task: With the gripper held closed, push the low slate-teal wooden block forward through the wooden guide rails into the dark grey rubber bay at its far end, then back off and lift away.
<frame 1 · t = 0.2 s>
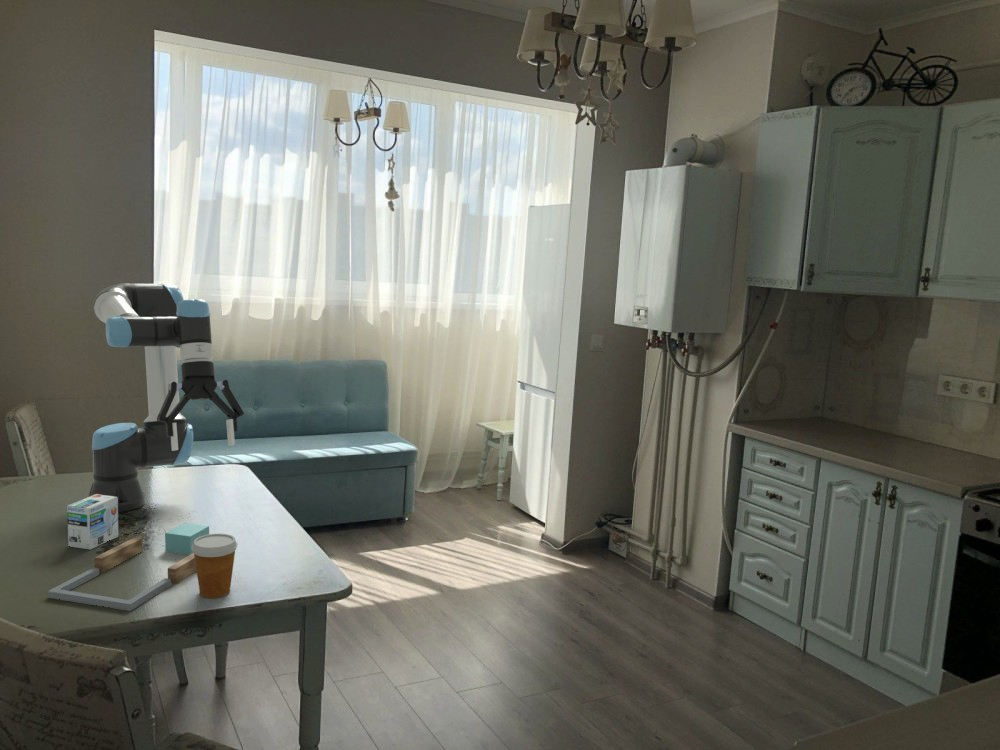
hand: (203, 448, 191), 27 cm above the table, tool tilted 15°, fingers open, 13 cm apart
light bulb box: (94, 542, 199), on the table
disposable coffee cup: (215, 593, 173), on the table
teal block: (187, 548, 198), on the table
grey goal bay: (113, 590, 172), on the table
wooden guide rails: (154, 566, 185), on the table
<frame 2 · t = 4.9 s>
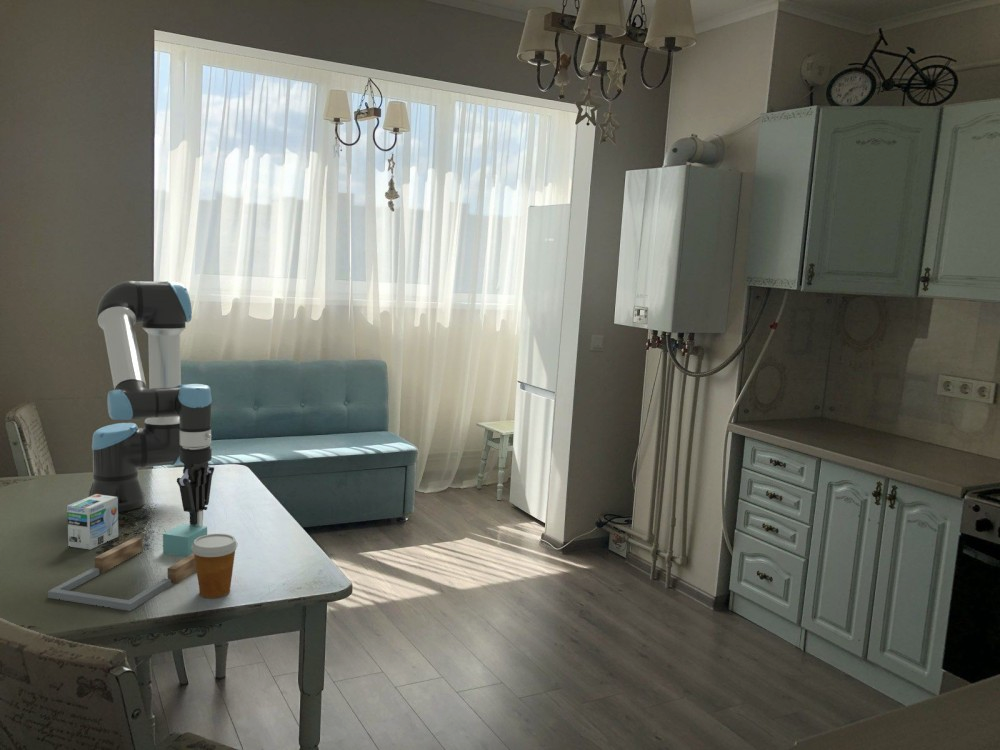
hand: (196, 535, 201), 2 cm above the table, tool pointing down, fingers closed
teal block: (185, 549, 197), on the table, touching gripper
everything else where it was.
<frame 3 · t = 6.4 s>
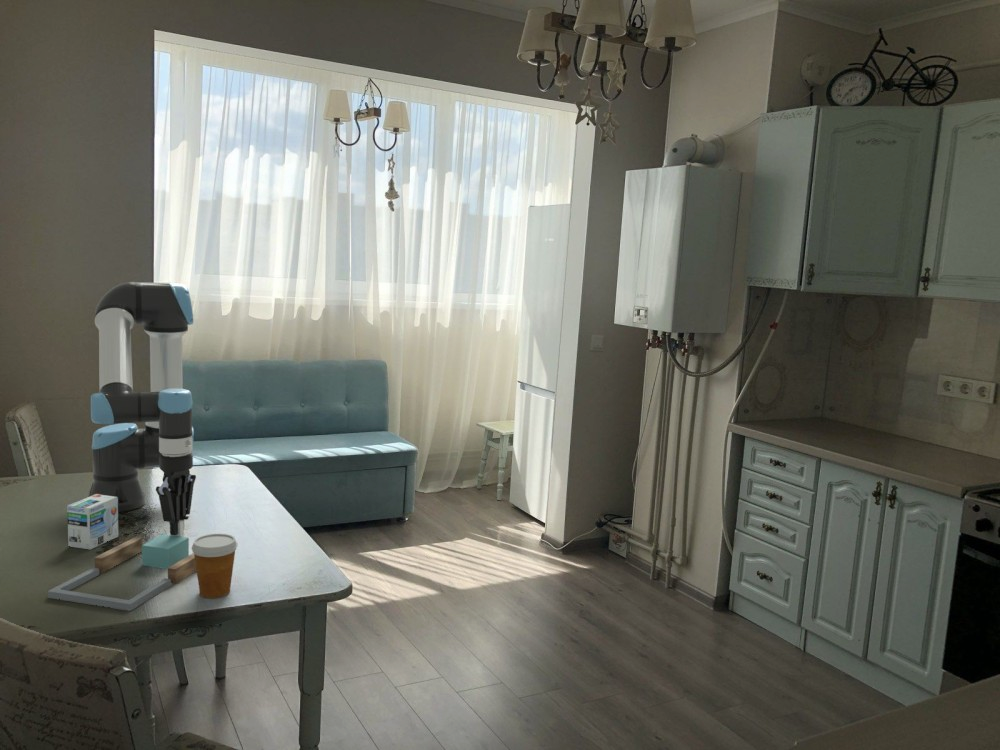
hand: (177, 545, 193), 2 cm above the table, tool pointing down, fingers closed
teal block: (165, 561, 189), on the table, touching gripper
everything else where it was.
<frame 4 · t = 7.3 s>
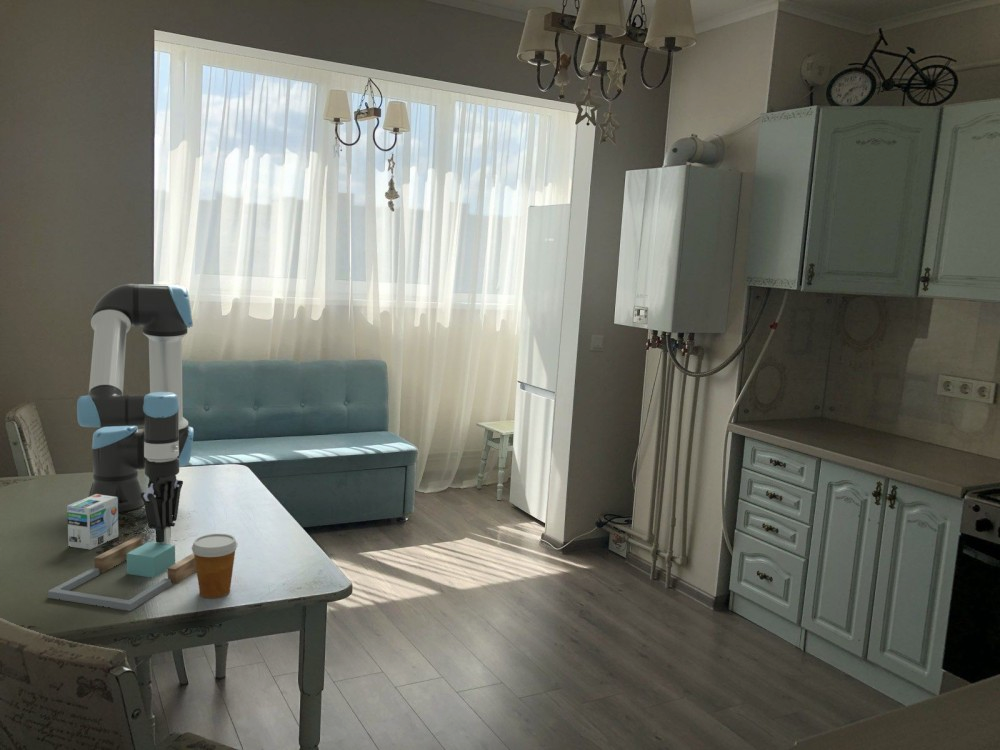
hand: (163, 553, 188), 2 cm above the table, tool pointing down, fingers closed
teal block: (151, 569, 184), on the table, touching gripper
everything else where it was.
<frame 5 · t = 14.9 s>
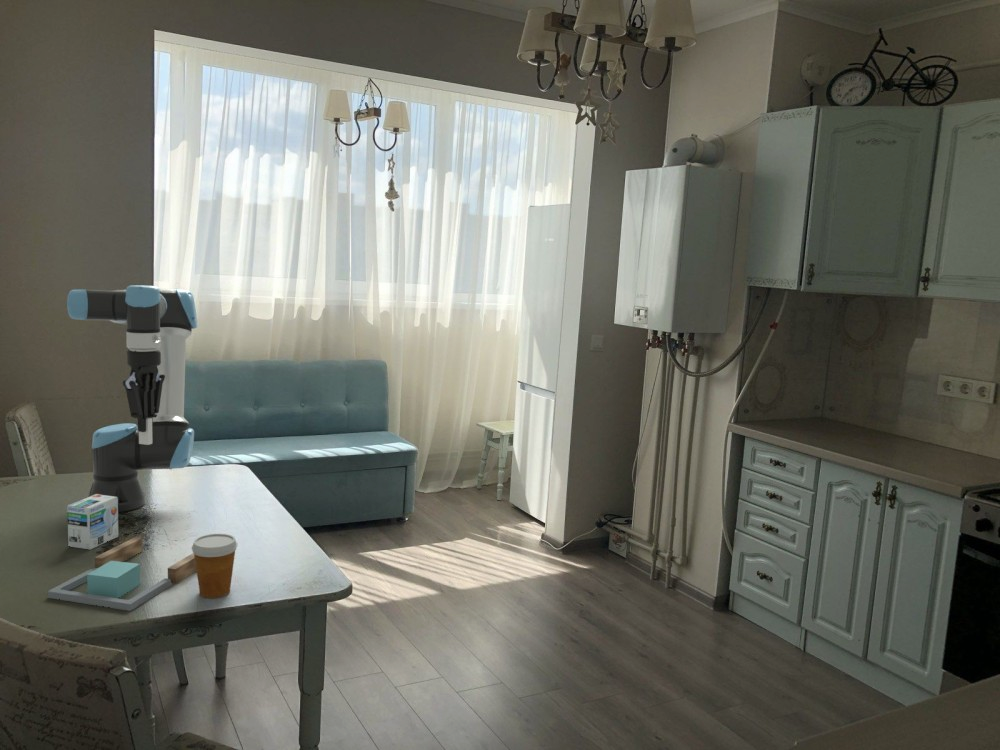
hand: (145, 443, 194), 26 cm above the table, tool pointing down, fingers closed
teal block: (114, 590, 172), on the table
everything else where it was.
at the end: teal block inside the target area (1.2 cm from its centre), on the table; teal block tilted 0°; teal block moved 26.8 cm from its start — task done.
